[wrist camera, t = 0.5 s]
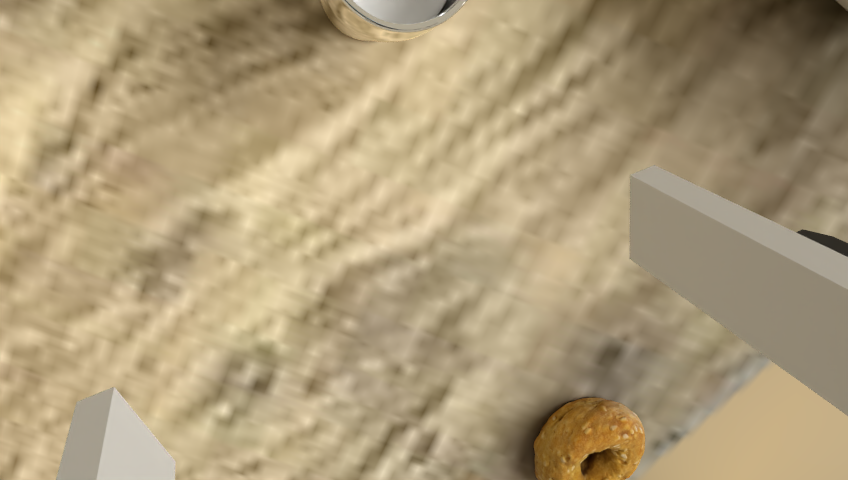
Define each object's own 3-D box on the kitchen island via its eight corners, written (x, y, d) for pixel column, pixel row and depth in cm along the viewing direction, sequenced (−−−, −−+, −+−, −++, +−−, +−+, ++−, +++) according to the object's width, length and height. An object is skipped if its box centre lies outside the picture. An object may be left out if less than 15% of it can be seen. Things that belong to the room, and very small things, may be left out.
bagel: (504, 451, 49) (523, 490, 44) (588, 368, 47) (616, 400, 43) (568, 497, 52) (592, 538, 48) (648, 421, 51) (680, 455, 47)
